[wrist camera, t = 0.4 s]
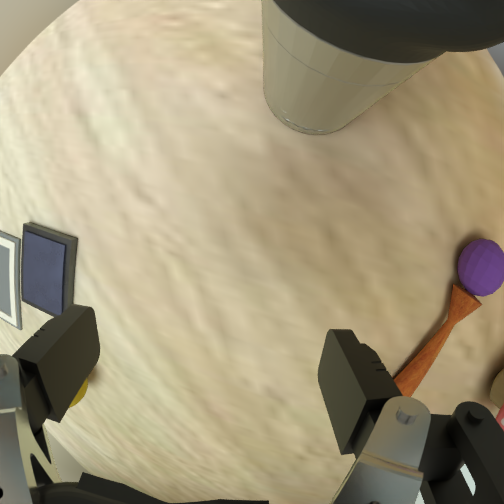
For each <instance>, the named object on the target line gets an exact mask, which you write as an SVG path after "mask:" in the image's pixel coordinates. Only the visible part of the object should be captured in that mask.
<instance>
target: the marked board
mask: <svg viewBox="0 0 504 504" xmlns="http://www.w3.org/2000/svg"><path fill="white" fill-rule="evenodd" d="M20 243H21V239H19V238H16V237H14V236H11V235H9V234H6V233H4V232H2V231H0V318H1V319H3V320H4V321H6V322H8V323H9V324H11V325H12V326H14V327H16V328H18V329H19V330H22V321H21V305H20Z"/></svg>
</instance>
